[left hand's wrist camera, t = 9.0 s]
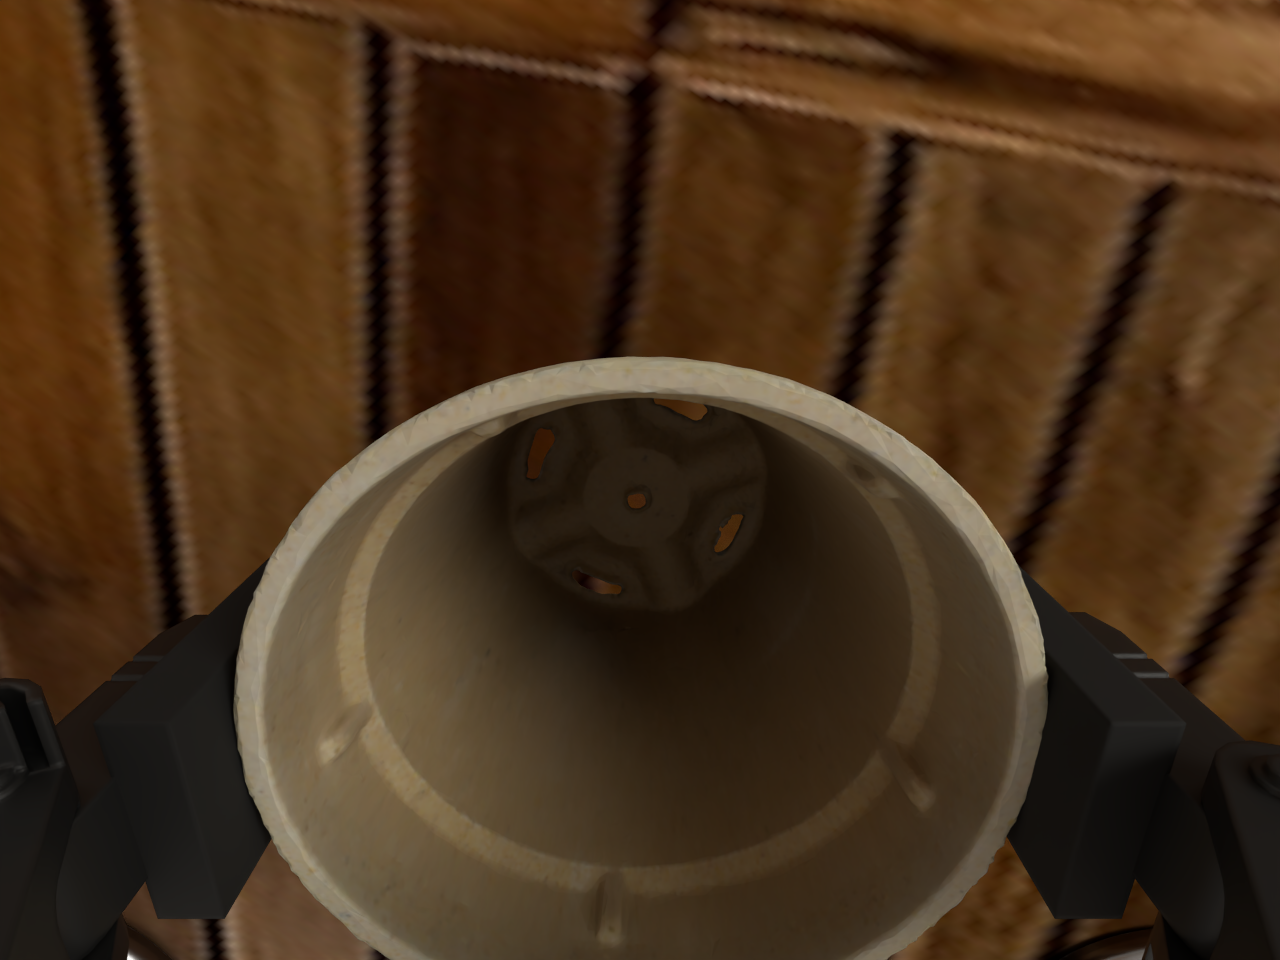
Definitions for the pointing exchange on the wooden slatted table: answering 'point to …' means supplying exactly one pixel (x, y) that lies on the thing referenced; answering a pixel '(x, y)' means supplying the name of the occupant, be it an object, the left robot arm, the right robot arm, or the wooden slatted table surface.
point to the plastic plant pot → (640, 677)
